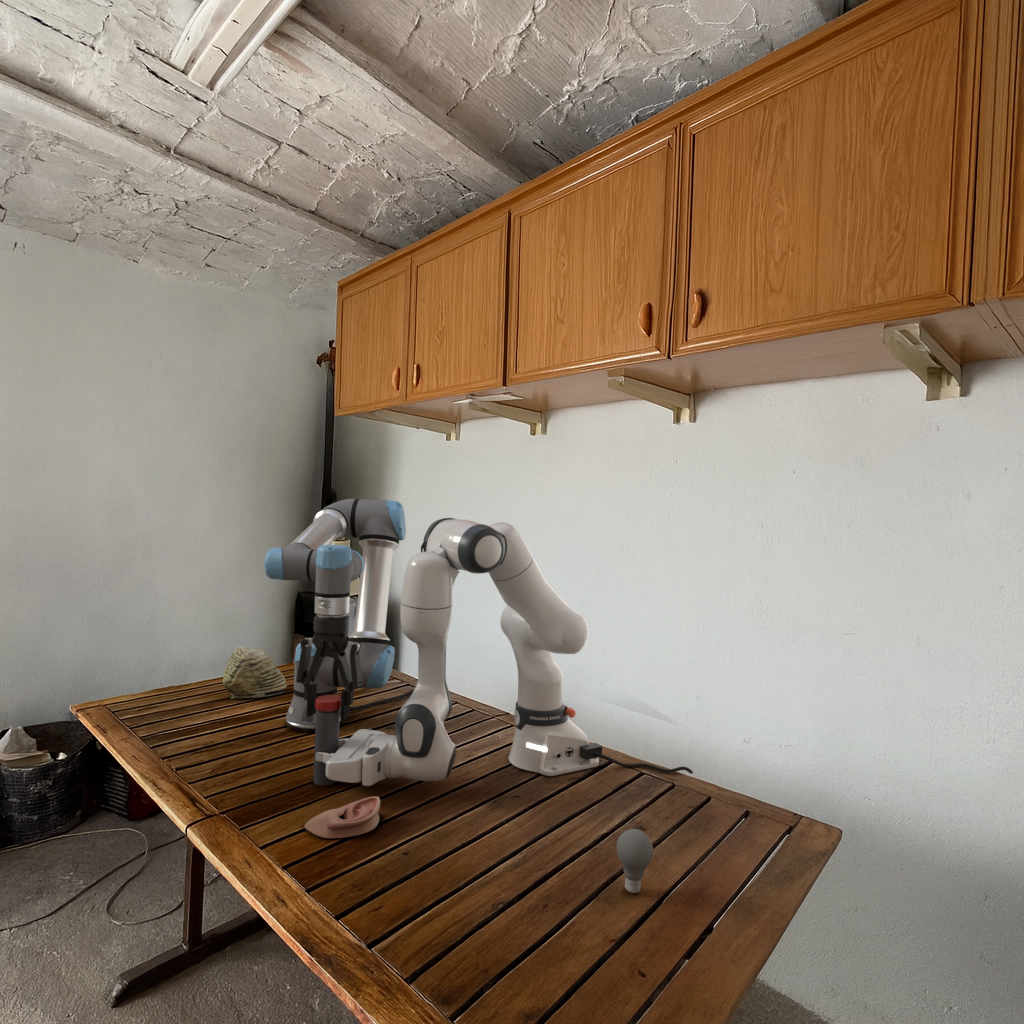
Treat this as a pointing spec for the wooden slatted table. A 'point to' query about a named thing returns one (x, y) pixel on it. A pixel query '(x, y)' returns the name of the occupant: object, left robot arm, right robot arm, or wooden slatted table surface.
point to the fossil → (252, 674)
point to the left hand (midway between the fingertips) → (327, 716)
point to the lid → (328, 703)
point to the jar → (325, 742)
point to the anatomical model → (346, 819)
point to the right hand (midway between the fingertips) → (322, 749)
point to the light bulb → (634, 857)
